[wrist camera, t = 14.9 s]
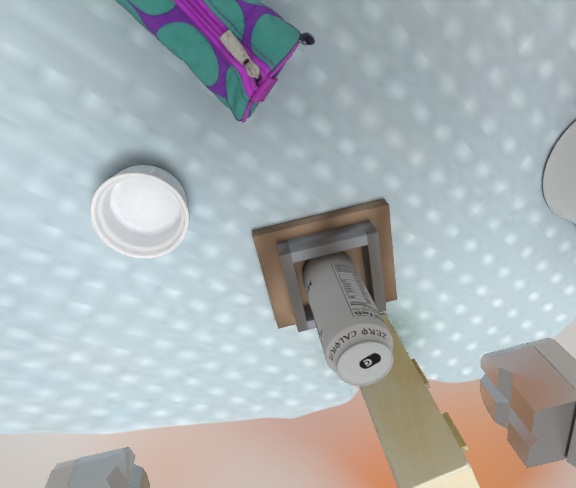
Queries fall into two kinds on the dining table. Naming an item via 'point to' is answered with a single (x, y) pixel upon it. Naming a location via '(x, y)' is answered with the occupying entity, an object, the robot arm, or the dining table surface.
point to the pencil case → (224, 44)
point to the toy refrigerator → (415, 427)
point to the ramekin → (141, 212)
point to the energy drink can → (347, 320)
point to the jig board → (322, 241)
